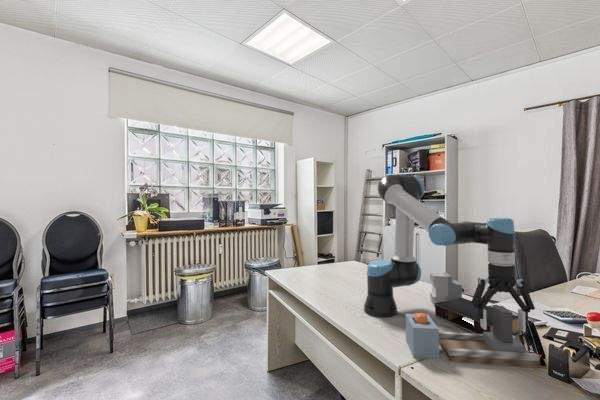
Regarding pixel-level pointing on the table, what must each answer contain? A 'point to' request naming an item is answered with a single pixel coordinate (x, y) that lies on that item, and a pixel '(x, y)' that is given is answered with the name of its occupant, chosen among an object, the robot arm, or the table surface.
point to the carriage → (502, 332)
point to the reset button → (420, 318)
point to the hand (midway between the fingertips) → (502, 329)
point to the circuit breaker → (444, 288)
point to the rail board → (480, 347)
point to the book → (467, 315)
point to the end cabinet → (422, 338)
